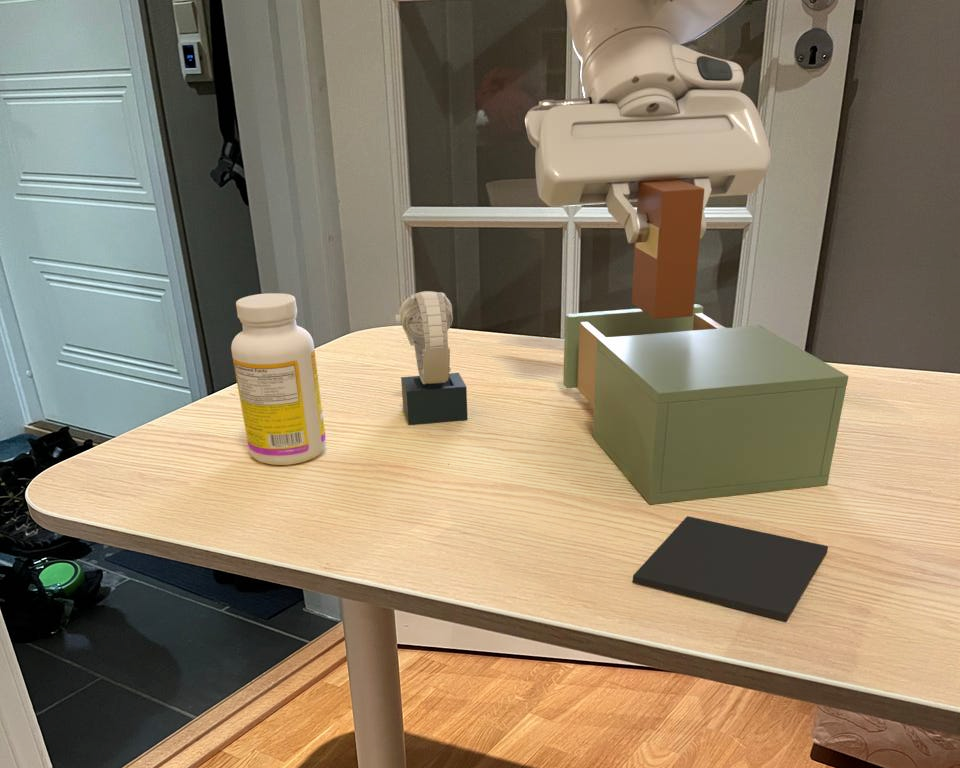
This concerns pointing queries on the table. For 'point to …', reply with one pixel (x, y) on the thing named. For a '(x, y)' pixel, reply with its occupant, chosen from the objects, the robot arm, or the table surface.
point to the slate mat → (733, 567)
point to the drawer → (614, 324)
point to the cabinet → (715, 412)
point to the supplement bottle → (277, 381)
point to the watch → (431, 362)
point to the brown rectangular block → (668, 248)
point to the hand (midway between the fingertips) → (668, 236)
